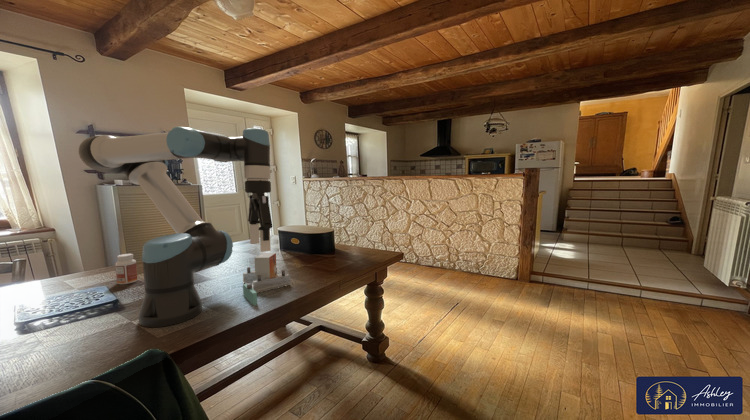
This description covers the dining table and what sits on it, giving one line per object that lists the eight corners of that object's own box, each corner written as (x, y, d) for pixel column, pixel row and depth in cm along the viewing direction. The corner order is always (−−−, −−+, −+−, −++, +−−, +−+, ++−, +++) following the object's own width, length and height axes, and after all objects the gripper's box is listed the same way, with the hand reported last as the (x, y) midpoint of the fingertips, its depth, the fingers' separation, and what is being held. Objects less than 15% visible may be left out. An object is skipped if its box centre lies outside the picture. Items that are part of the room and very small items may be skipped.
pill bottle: (137, 278, 116) (135, 252, 115) (137, 282, 111) (135, 255, 110) (117, 281, 112) (115, 254, 111) (116, 286, 107) (114, 257, 106)
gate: (252, 305, 89) (252, 289, 89) (242, 295, 98) (242, 281, 97) (257, 304, 90) (257, 288, 90) (247, 294, 99) (247, 280, 98)
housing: (255, 293, 99) (254, 277, 99) (242, 282, 111) (242, 267, 110) (290, 285, 108) (289, 270, 107) (275, 276, 119) (275, 262, 119)
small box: (270, 285, 105) (269, 257, 104) (255, 285, 105) (254, 257, 104) (277, 278, 113) (276, 252, 112) (263, 278, 113) (262, 252, 112)
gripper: (282, 179, 80) (284, 253, 81) (260, 180, 100) (262, 239, 102) (254, 179, 75) (256, 256, 77) (237, 180, 96) (239, 242, 97)
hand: (260, 247), depth 89 cm, fingers open, 13 cm apart
